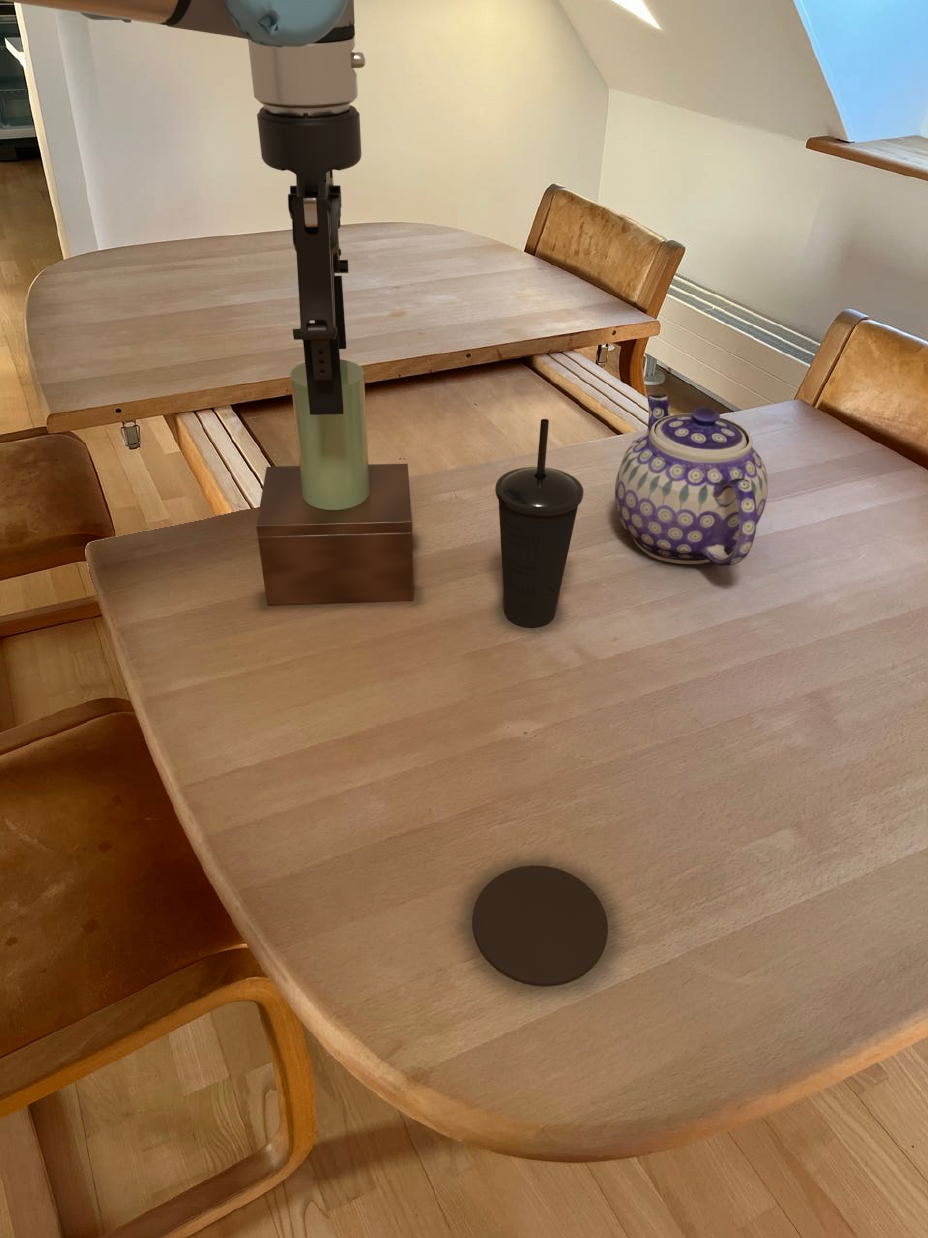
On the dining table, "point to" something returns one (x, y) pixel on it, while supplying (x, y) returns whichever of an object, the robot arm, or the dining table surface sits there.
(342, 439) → the canister
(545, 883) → the coaster
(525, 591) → the drinking cup
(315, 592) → the walnut chest
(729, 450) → the teapot
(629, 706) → the dining table surface
